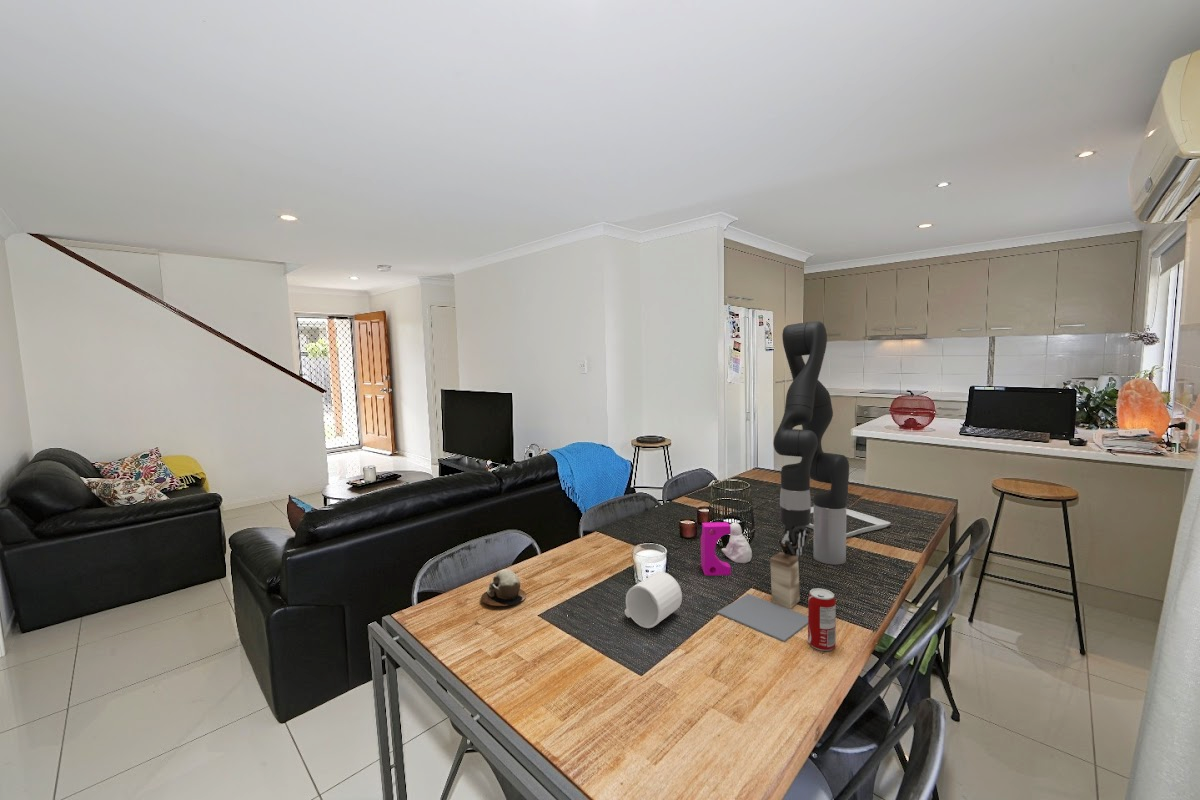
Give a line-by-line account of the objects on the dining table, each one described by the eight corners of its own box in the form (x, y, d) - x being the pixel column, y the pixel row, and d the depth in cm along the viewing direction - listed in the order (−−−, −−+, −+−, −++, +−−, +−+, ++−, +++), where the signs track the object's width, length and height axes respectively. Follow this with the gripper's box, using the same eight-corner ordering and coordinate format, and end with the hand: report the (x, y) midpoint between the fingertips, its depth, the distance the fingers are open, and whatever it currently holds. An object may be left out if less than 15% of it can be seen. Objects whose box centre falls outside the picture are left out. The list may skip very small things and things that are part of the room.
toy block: (701, 568, 152) (725, 567, 152) (705, 577, 146) (730, 576, 146) (700, 520, 151) (725, 519, 151) (704, 526, 145) (730, 526, 144)
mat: (747, 595, 134) (747, 593, 134) (813, 619, 120) (813, 618, 120) (716, 613, 125) (716, 611, 125) (784, 642, 111) (784, 640, 111)
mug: (669, 565, 125) (645, 579, 117) (689, 603, 122) (667, 620, 114) (636, 582, 132) (612, 597, 125) (655, 619, 129) (631, 636, 122)
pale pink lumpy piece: (745, 567, 151) (745, 529, 151) (720, 560, 158) (720, 523, 157) (755, 561, 156) (755, 524, 155) (731, 554, 162) (731, 518, 161)
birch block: (781, 594, 133) (779, 551, 131) (799, 601, 129) (798, 557, 128) (772, 602, 130) (770, 558, 128) (790, 609, 126) (788, 564, 124)
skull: (468, 597, 134) (487, 561, 140) (493, 613, 140) (510, 579, 145) (496, 605, 126) (515, 568, 132) (521, 622, 132) (538, 586, 138)
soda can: (812, 635, 114) (812, 584, 113) (838, 643, 110) (838, 590, 109) (804, 646, 109) (804, 593, 108) (831, 655, 106) (831, 600, 105)
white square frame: (779, 522, 193) (779, 512, 193) (829, 512, 205) (829, 502, 204) (839, 545, 169) (839, 533, 168) (892, 531, 180) (892, 521, 180)
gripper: (793, 497, 138) (793, 558, 139) (768, 507, 129) (768, 572, 130) (820, 502, 132) (820, 565, 134) (796, 513, 124) (796, 581, 125)
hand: (794, 568), depth 132 cm, fingers closed
